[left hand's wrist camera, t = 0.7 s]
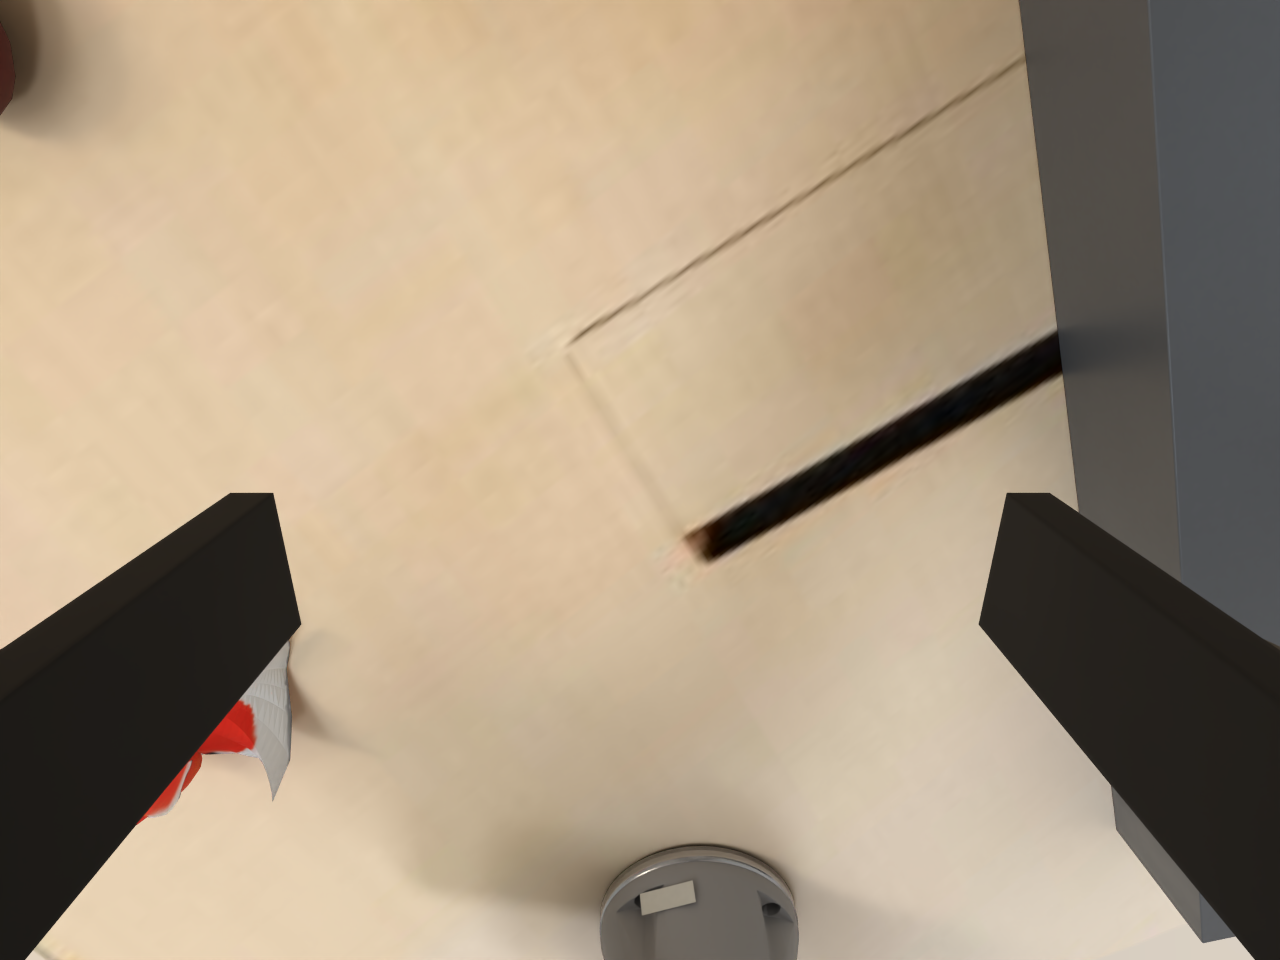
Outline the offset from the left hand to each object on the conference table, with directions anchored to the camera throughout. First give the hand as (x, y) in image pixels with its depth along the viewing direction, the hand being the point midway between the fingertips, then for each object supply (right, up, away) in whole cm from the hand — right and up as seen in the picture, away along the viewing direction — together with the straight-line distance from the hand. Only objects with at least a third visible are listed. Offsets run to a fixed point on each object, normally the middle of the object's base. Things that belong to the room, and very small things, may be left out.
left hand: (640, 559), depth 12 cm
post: (+26, +6, +26) cm, 37 cm away
